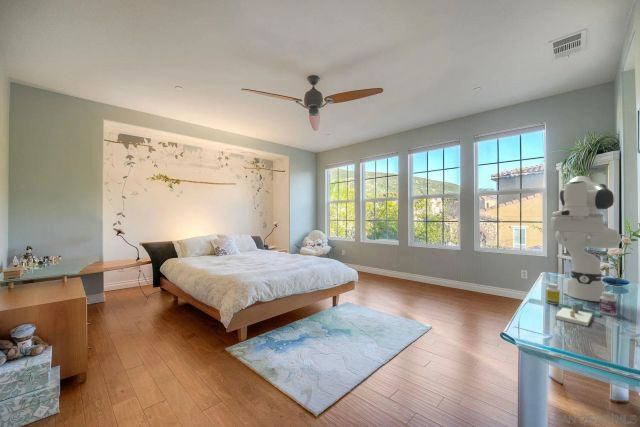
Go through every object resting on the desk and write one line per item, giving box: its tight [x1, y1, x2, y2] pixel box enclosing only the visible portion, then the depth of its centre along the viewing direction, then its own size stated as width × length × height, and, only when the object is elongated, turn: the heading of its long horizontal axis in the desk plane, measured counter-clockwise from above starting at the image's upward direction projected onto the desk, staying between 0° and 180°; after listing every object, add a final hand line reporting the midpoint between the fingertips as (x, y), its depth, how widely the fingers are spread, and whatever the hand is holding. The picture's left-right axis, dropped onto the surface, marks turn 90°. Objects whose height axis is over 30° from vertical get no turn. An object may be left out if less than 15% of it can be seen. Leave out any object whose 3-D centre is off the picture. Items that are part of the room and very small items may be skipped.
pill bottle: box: [598, 291, 617, 317], centre depth 124 cm, size 5×5×10 cm
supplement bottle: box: [545, 282, 561, 305], centre depth 138 cm, size 5×5×10 cm
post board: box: [555, 303, 593, 327], centre depth 118 cm, size 16×10×5 cm, turn 129°
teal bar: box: [557, 300, 602, 318], centre depth 126 cm, size 14×5×4 cm, turn 39°
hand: (576, 241), depth 130 cm, fingers open, 8 cm apart
